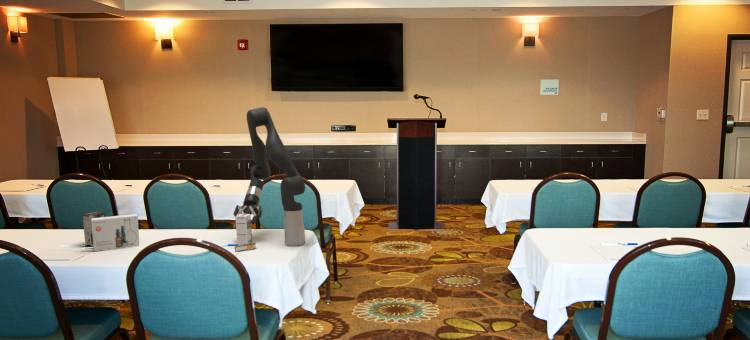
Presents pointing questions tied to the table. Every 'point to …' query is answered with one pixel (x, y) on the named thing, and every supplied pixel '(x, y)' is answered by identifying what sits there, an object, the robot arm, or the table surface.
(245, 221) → the syrup box
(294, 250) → the table surface
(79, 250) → the table surface
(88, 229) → the coffee box
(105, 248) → the skincare box
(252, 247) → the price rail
